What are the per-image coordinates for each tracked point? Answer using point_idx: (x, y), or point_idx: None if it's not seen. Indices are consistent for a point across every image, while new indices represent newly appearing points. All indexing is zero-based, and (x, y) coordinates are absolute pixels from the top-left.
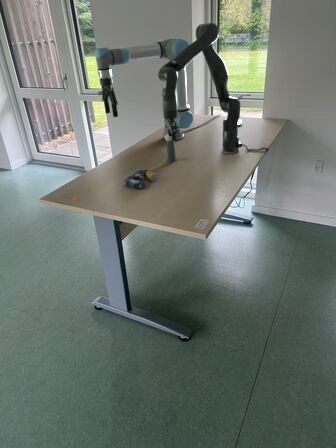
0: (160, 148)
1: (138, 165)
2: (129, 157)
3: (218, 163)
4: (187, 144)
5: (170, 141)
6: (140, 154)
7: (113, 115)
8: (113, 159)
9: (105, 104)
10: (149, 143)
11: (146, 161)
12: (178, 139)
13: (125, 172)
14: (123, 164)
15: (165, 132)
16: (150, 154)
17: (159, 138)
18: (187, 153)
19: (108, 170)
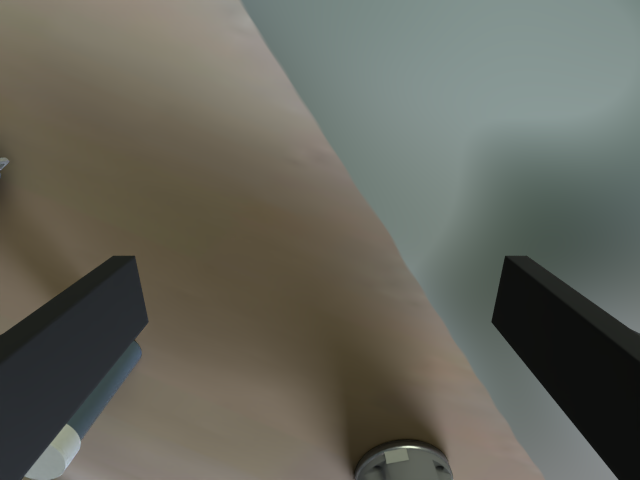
0: (309, 381)
1: (144, 209)
2: (290, 220)
3: None
4: (277, 471)
5: None
6: (295, 281)
7: (100, 268)
8: (322, 133)
9: (629, 381)
10: (417, 375)
11: (177, 263)
12: (355, 475)
13: (76, 110)
14: (204, 150)
15: (411, 478)
16: (261, 316)
17: (446, 433)
18: (172, 427)
19: (157, 33)
